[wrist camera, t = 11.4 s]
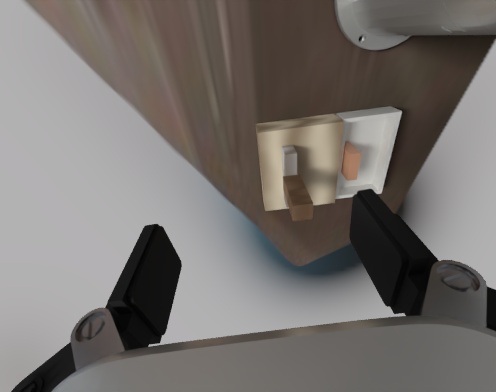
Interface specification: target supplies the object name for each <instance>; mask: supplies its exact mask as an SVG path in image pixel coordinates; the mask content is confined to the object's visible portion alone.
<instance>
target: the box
mask: <svg viewBox="0 0 496 392" xmlns="http://www.w3.org/2000/svg"><path fill="white" fill-rule="evenodd" d="M401 114H402V111H400V110H398V109H396V108H394V107H391V106H387V107H380V108H372V109H365V110H357V111H350V112H342V113H336V116H338V117H339V118H340V119H341V120H343V121H344V126H343V135H342V144H341V152H340V161H339V169H338V178H337V187H336V195H335V199H339V198H347V197H353V196H354V194H357V192H358V191H359V190H365V189H372V190H374V192H375V193H376V194H380V193H382V189H383V185H384V181H385V177H386V174H387V170H388V166H389V162H390V158H391V154H392V150H393V146H394V142H395V138H396V134H397V130H398V126H399V122H400V118H401ZM345 142H350V143H351V144H352V145H353V146H354V147H355V148H357V149H358V150H359V151H360V152H361V158H360V164H359V170H358V176H357V180H349V181H347V180H346V179H345V177H344V176H343V175H342V173H341V169H342V161H343V153H344V145H345Z"/></svg>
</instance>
